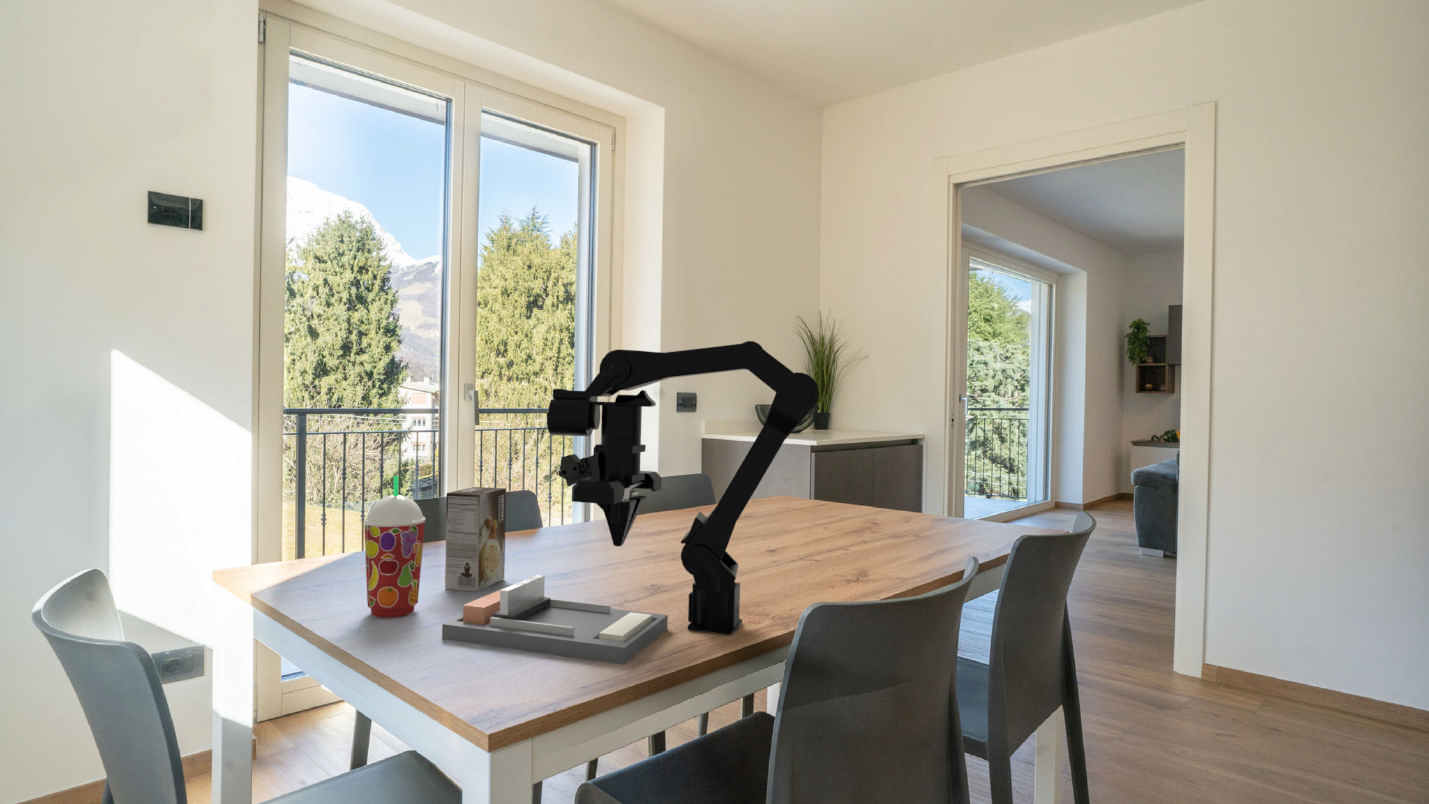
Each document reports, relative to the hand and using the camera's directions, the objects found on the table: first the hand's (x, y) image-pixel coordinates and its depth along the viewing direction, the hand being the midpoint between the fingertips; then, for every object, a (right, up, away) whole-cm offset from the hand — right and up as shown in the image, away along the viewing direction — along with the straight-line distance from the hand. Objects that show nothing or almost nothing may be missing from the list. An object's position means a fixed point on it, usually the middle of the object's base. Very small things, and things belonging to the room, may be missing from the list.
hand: (618, 545), depth 109 cm
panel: (-7, -11, -6) cm, 14 cm away
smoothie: (-33, -10, +2) cm, 35 cm away
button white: (+2, -11, -9) cm, 14 cm away
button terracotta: (-17, -9, -3) cm, 19 cm away
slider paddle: (-13, -8, -5) cm, 16 cm away
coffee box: (-27, -10, +19) cm, 35 cm away
